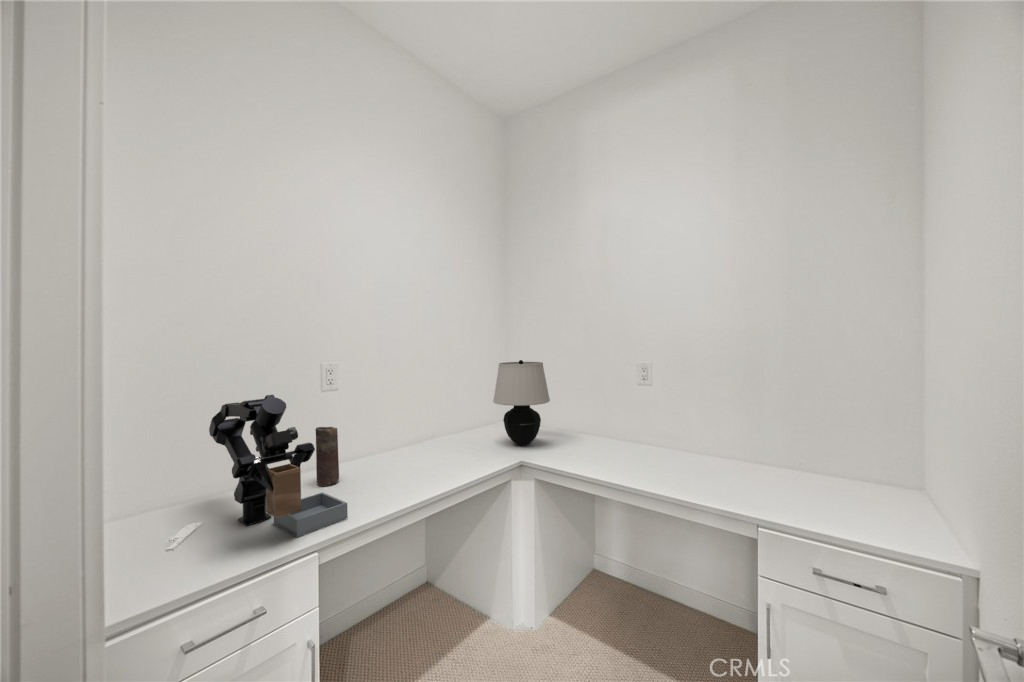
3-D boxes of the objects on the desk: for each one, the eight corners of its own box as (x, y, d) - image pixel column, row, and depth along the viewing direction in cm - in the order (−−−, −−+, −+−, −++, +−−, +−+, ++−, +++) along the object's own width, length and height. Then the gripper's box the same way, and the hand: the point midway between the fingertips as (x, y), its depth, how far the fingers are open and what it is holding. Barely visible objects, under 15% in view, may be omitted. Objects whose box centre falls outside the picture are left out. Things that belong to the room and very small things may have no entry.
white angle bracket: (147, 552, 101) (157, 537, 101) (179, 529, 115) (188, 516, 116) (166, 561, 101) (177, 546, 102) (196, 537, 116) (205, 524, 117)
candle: (317, 481, 150) (315, 426, 150) (339, 478, 153) (337, 424, 153) (316, 488, 143) (315, 430, 143) (339, 484, 146) (338, 428, 146)
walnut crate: (266, 512, 106) (265, 469, 106) (290, 504, 111) (290, 463, 111) (276, 518, 103) (275, 474, 103) (301, 510, 107) (300, 467, 107)
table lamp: (497, 437, 212) (496, 359, 212) (551, 437, 209) (549, 358, 209) (489, 451, 185) (487, 362, 185) (550, 452, 182) (548, 361, 182)
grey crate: (273, 523, 116) (273, 507, 116) (322, 507, 127) (322, 492, 127) (297, 537, 107) (296, 520, 107) (347, 518, 118) (347, 502, 118)
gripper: (234, 425, 102) (253, 479, 95) (311, 413, 116) (332, 459, 110) (224, 451, 107) (241, 505, 100) (298, 437, 121) (317, 483, 115)
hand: (285, 486), depth 106 cm, fingers closed on walnut crate, 6 cm apart
